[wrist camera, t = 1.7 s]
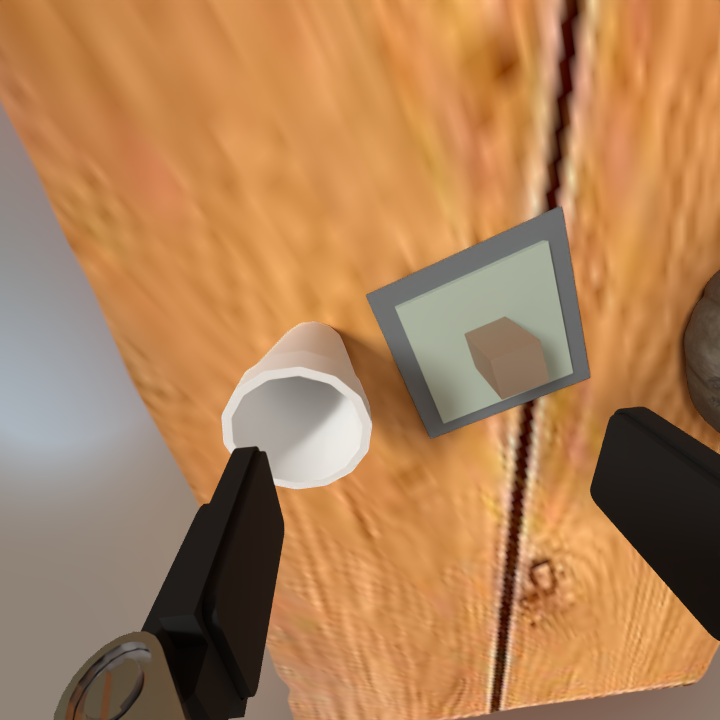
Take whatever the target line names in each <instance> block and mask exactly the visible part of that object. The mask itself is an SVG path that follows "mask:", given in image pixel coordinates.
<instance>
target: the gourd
mask: <svg viewBox="0 0 720 720" xmlns="http://www.w3.org/2000/svg"><path fill="white" fill-rule="evenodd" d="M704 292H705V294H704V296H703V297H702V299H701V300H700V301H699V302H698V303H697V304H696V306H695V308H694V310H693V313H692V316H691V320H690V322H689V324H688V326H687V329H686V331H685V336H684V349H685V355H686V359H685V364H686V376H687V384H688V388H689V393H690V396H691V399H692V402H693V404H694V406H695V408H696V409H697V410H698V412H699V413H700V415H701V416H702V417H703V418H704V420H705V421H706V422H707V423H708V424H710V425H711V426H712V427H713V428H714V429H715V430H716V431H718V432H719V433H720V270H719V271H718V272H717V273H716V274H714V275H713V277H712V278H711V279H710V280H709V281H708V282H707V284H706V287H705V291H704Z"/></svg>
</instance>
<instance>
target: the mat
mask: <svg viewBox="0 0 720 720" xmlns="http://www.w3.org/2000/svg"><path fill="white" fill-rule="evenodd" d="M542 240H545V241H548V243H549V248H550V253H551V259H552V264H553V269H554V274H555V280H556V285H557V290H558V296H559V301H560V306H561V311H562V317H563V322H564V327H565V333H566V338H567V343H568V348H569V354H570V359H571V364H572V370H573V373H572V374H570V375H567V376H565V377H562V378H559V379H557V380H554V381H552V382H549V383H547V384H544V385H541V386H539V387H536V388H534V389H531V390H529V391H526V392H524V393H521V394H518V395H516V396H513V397H511V398H508V399H506V400H503V401H500V402H498V403H495V404H493V405H490V406H488V407H485V408H483V409H480V410H477V411H475V412H472V413H470V414H467V415H465V416H462V417H459V418H457V419H454V420H452V421H449V422H447V423H443V421H442V419H441V417H440V414H439V412H438V409H437V407H436V405H435V402H434V400H433V397H432V395H431V393H430V390H429V388H428V385H427V383H426V381H425V378H424V376H423V373H422V371H421V369H420V366H419V364H418V362H417V359H416V357H415V354H414V352H413V350H412V347H411V345H410V342H409V340H408V338H407V335H406V333H405V330H404V328H403V326H402V323H401V321H400V318H399V316H398V314H397V311H396V309H395V306H397V305H399V304H402V303H404V302H406V301H408V300H411V299H413V298H415V297H417V296H420V295H422V294H424V293H426V292H428V291H431V290H433V289H435V288H437V287H440V286H442V285H444V284H446V283H449V282H451V281H453V280H455V279H457V278H460V277H462V276H464V275H466V274H469V273H471V272H473V271H475V270H478V269H480V268H482V267H484V266H486V265H489V264H491V263H493V262H495V261H498V260H500V259H502V258H504V257H507V256H509V255H511V254H513V253H515V252H518V251H520V250H522V249H524V248H527V247H529V246H531V245H533V244H536V243H538V242H540V241H542ZM366 297H367V299H368V302H369V304H370V306H371V308H372V310H373V313H374V315H375V317H376V319H377V322H378V324H379V326H380V328H381V330H382V333H383V335H384V337H385V339H386V341H387V344H388V346H389V348H390V350H391V353H392V355H393V357H394V359H395V361H396V364H397V366H398V368H399V370H400V373H401V375H402V377H403V379H404V381H405V384H406V386H407V388H408V390H409V393H410V395H411V397H412V399H413V401H414V404H415V406H416V408H417V410H418V412H419V415H420V417H421V419H422V421H423V424H424V426H425V428H426V430H427V432H428V435H429V437H430V439H432V438H435V437H437V436H440V435H442V434H445V433H448V432H450V431H453V430H455V429H458V428H460V427H463V426H466V425H468V424H471V423H473V422H476V421H479V420H481V419H484V418H486V417H489V416H492V415H494V414H497V413H499V412H502V411H505V410H507V409H510V408H512V407H515V406H517V405H520V404H523V403H525V402H528V401H530V400H533V399H536V398H538V397H541V396H543V395H546V394H549V393H551V392H554V391H556V390H559V389H562V388H564V387H567V386H569V385H572V384H574V383H577V382H580V381H582V380H585V379H587V378H590V374H589V368H588V362H587V356H586V350H585V344H584V338H583V332H582V326H581V320H580V314H579V307H578V301H577V295H576V289H575V283H574V277H573V271H572V265H571V259H570V253H569V247H568V241H567V235H566V228H565V222H564V216H563V210H562V207H557V208H554V209H552V210H550V211H548V212H546V213H544V214H541V215H539V216H537V217H535V218H533V219H530V220H528V221H526V222H524V223H522V224H520V225H517V226H515V227H513V228H511V229H509V230H507V231H504V232H502V233H500V234H498V235H496V236H493V237H491V238H489V239H487V240H485V241H483V242H480V243H478V244H476V245H474V246H472V247H469V248H467V249H465V250H463V251H461V252H459V253H456V254H454V255H452V256H450V257H448V258H445V259H443V260H441V261H439V262H437V263H435V264H432V265H430V266H428V267H426V268H424V269H421V270H419V271H417V272H415V273H413V274H411V275H408V276H406V277H404V278H402V279H400V280H397V281H395V282H393V283H391V284H389V285H387V286H384V287H382V288H380V289H378V290H376V291H374V292H371V293H369V294H367V295H366Z"/></svg>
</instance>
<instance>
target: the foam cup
mask: <svg viewBox="0 0 720 720" xmlns="http://www.w3.org/2000/svg"><path fill="white" fill-rule="evenodd" d="M221 417H222V429H223V441H224V445H225V446H226V448H227V449H228V450H229V452H230V453H231V454H232V452H233V450H234V449H236V448H243V447H253V446H257V447H258V448H259V450H260V451H265V452H266V453H267V457H268V461H269V465H270V469H271V473H272V477H273V481H274V485H277V486H282V487H287V488H292V489H303V488H310V487H318V486H326V485H328V484H330V483H332V482H334V481H336V480H338V479H339V478H341V477H343V476H345V475H347V474H349V473H351V472H352V471H353V470H354V468H355V467H356V466H357V465H358V463H359V462H360V461H361V459H362V458H363V457H364V455H365V454H366V453H367V452H368V450H369V443H370V436H371V429H372V419H371V412H370V405H369V402H368V399H367V397H366V395H365V392H364V390H363V387H362V385H361V382H360V380H359V378H357V377H356V375H355V372H354V369H353V367H352V364H351V361H350V359H349V356H348V353H347V351H346V348H345V346H344V343H343V341H342V338H341V336H340V335H339V334H338V333H337V332H336V331H335V330H334V329H333V328H331V327H330V326H329V325H326V324H322V323H319V322H316V321H313V322H306V323H300V324H298V325H297V326H295V327H294V328H292V329H291V330H289V331H288V332H287V333H286V334H285V335H284V336H283V337H282V338H281V339H280V340H279V341H278V342H277V343H276V344H275V345H274V346H273V347H272V348H271V350H270V351H269V352H268V353H267V354H266V355H265V356H264V357H263V358H262V359H261V360H260V361H259V362H258V363H257V364H256V365H255V366H253V367H252V368H250V369H248V370H247V371H246V372H245V373H244V375H243V377H242V378H241V380H240V382H239V384H238V385H237V387H236V389H235V391H234V393H233V395H232V396H231V398H230V400H229V402H228V404H227V406H226V408H225V410H224V412H223V413H222V415H221Z"/></svg>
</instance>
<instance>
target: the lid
mask: <svg viewBox="0 0 720 720" xmlns="http://www.w3.org/2000/svg"><path fill="white" fill-rule="evenodd" d="M395 309H396V311H397V314H398V316H399V318H400V321H401V323H402V326H403V328H404V330H405V333H406V335H407V338H408V340H409V342H410V345H411V347H412V350H413V352H414V354H415V357H416V359H417V362H418V364H419V366H420V369H421V371H422V373H423V376H424V378H425V381H426V383H427V385H428V388H429V390H430V393H431V395H432V397H433V400H434V402H435V405H436V407H437V409H438V412H439V414H440V417H441V419H442V421H443V423H447V422H449V421H452V420H454V419H457V418H459V417H462V416H465V415H467V414H470V413H472V412H475V411H477V410H480V409H483V408H485V407H488V406H490V405H493V404H495V403H498V402H500V401H503V400H506V399H508V398H511V397H513V396H516V395H518V394H521V393H524V392H526V391H529V390H531V389H534V388H536V387H539V386H541V385H544V384H547V383H549V382H552V381H554V380H557V379H559V378H562V377H565V376H567V375H570V374H572V373H573V370H572V364H571V359H570V354H569V348H568V343H567V338H566V333H565V327H564V322H563V317H562V311H561V306H560V301H559V296H558V290H557V285H556V280H555V274H554V269H553V264H552V259H551V253H550V248H549V243H548V241H545V240H542V241H540V242H538V243H536V244H533V245H531V246H529V247H527V248H524V249H522V250H520V251H518V252H515V253H513V254H511V255H509V256H507V257H504V258H502V259H500V260H498V261H495V262H493V263H491V264H489V265H486V266H484V267H482V268H480V269H478V270H475V271H473V272H471V273H469V274H466V275H464V276H462V277H460V278H457V279H455V280H453V281H451V282H449V283H446V284H444V285H442V286H440V287H437V288H435V289H433V290H431V291H428V292H426V293H424V294H422V295H420V296H417V297H415V298H413V299H411V300H408V301H406V302H404V303H402V304H399V305H397V306H395Z"/></svg>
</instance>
